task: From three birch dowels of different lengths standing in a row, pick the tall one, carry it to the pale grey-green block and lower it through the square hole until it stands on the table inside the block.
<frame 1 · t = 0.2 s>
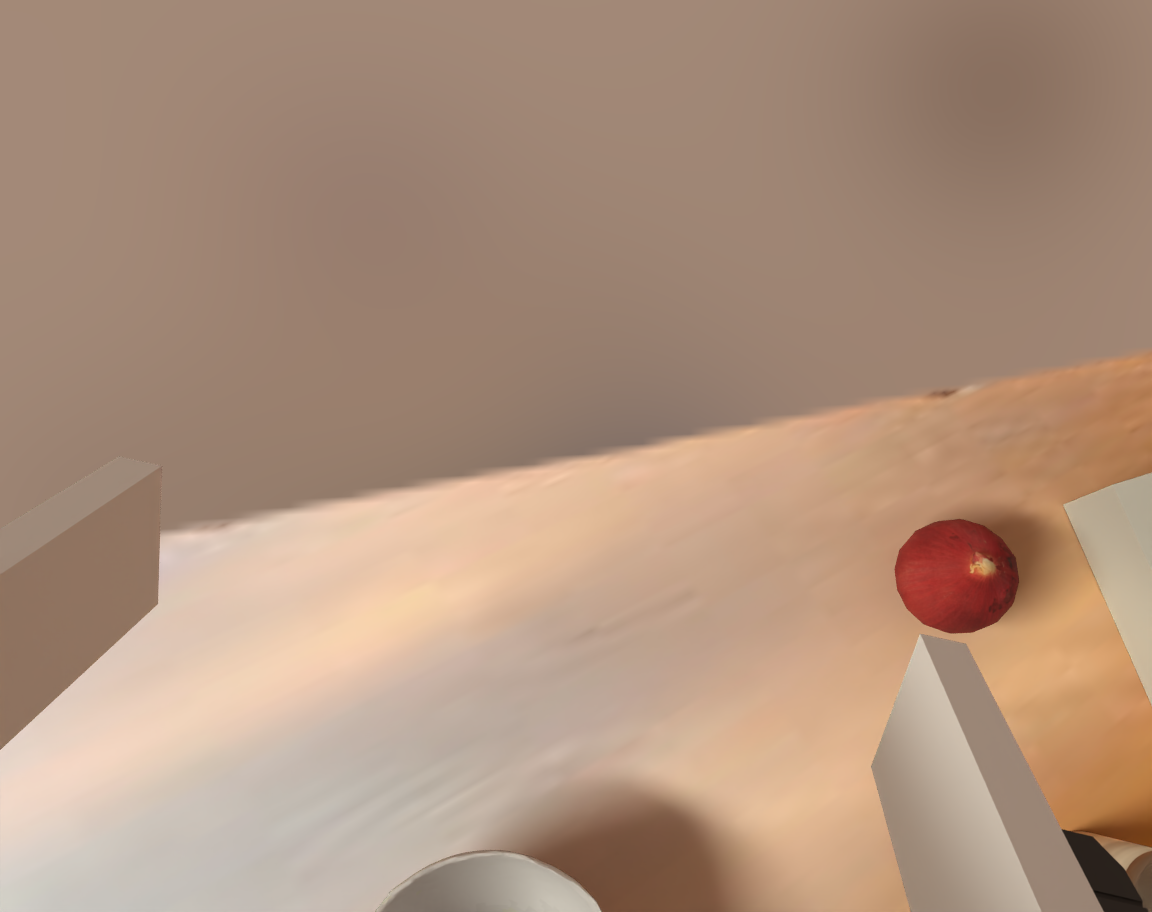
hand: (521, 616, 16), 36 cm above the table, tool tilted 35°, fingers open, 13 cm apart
onion: (927, 585, 52), on the table
medium dowel: (1083, 872, 49), on the table
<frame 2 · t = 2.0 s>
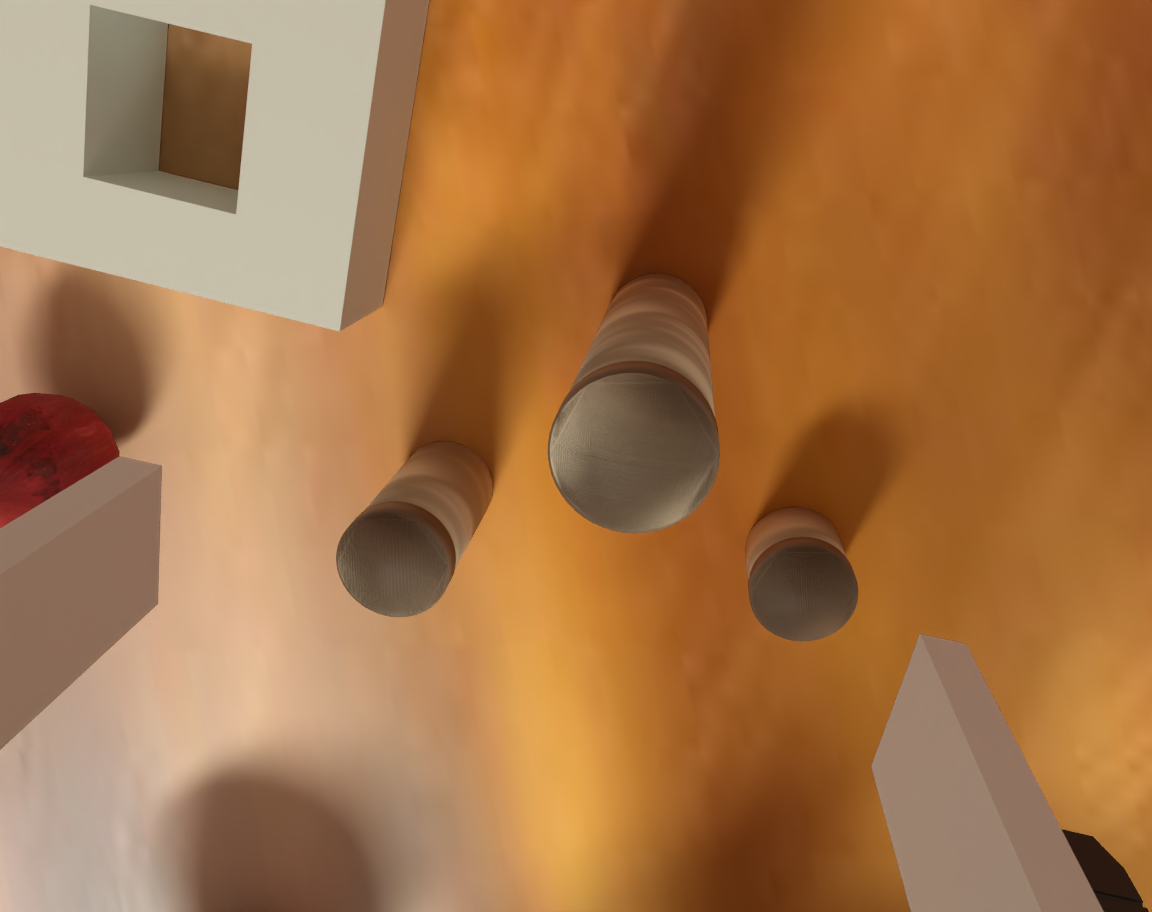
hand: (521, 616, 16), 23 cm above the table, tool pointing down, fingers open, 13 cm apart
hole block: (232, 114, 37), on the table
short dowel: (792, 550, 40), on the table
onion: (95, 436, 42), on the table
medium dowel: (447, 485, 41), on the table
long dowel: (656, 324, 38), on the table
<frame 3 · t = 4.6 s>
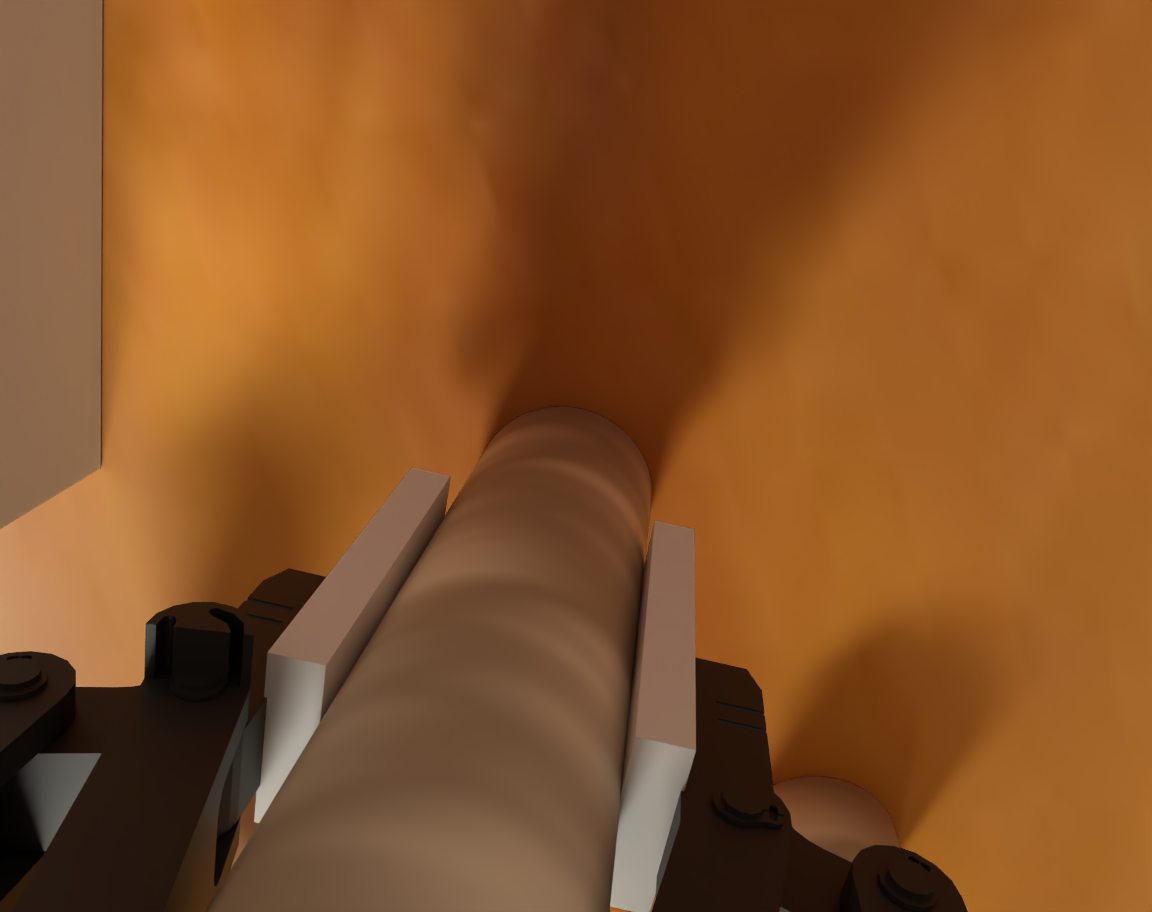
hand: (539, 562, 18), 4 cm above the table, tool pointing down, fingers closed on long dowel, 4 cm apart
short dowel: (814, 840, 24), on the table
medium dowel: (244, 741, 25), on the table
long dowel: (563, 490, 21), on the table, touching gripper
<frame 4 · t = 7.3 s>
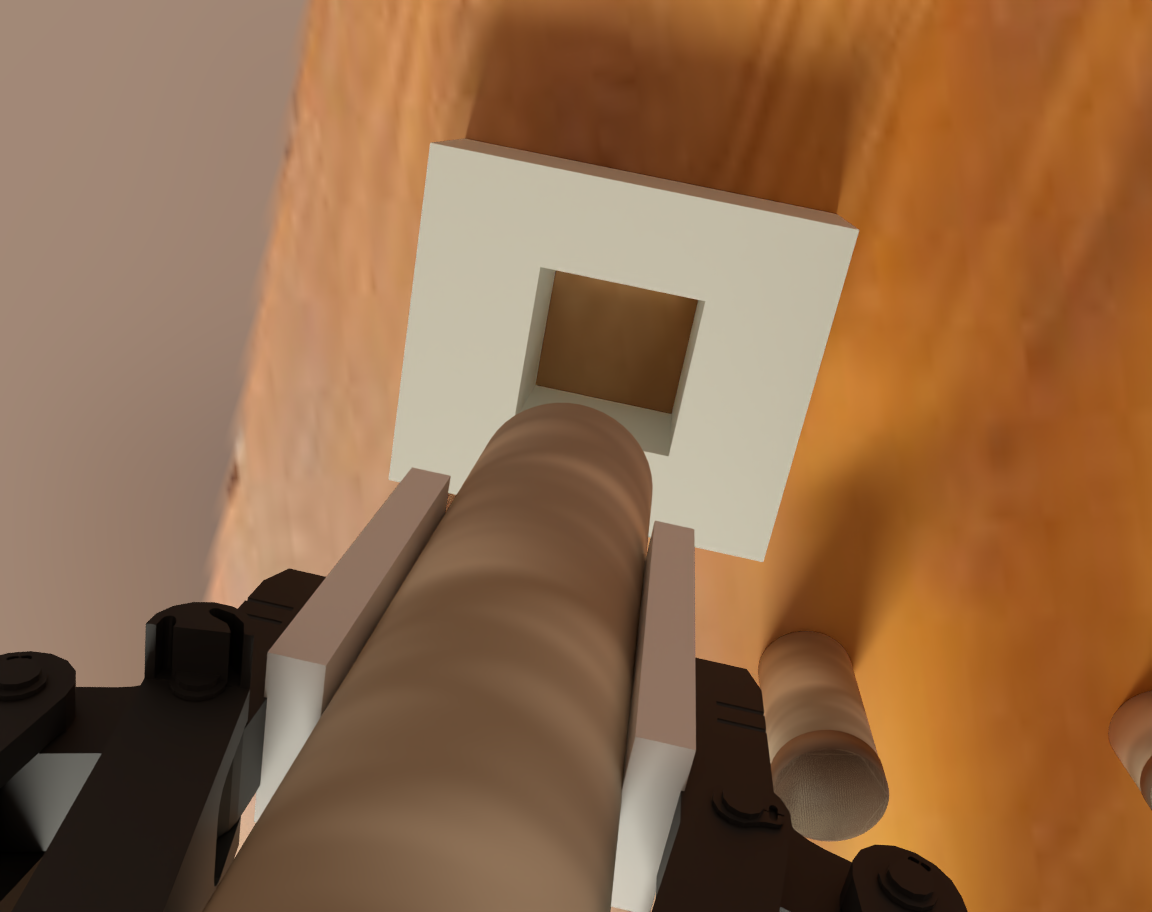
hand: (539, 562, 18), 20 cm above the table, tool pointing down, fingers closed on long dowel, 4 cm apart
hole block: (617, 332, 37), on the table
medium dowel: (804, 671, 41), on the table
long dowel: (564, 486, 22), point 17 cm above the table, touching gripper
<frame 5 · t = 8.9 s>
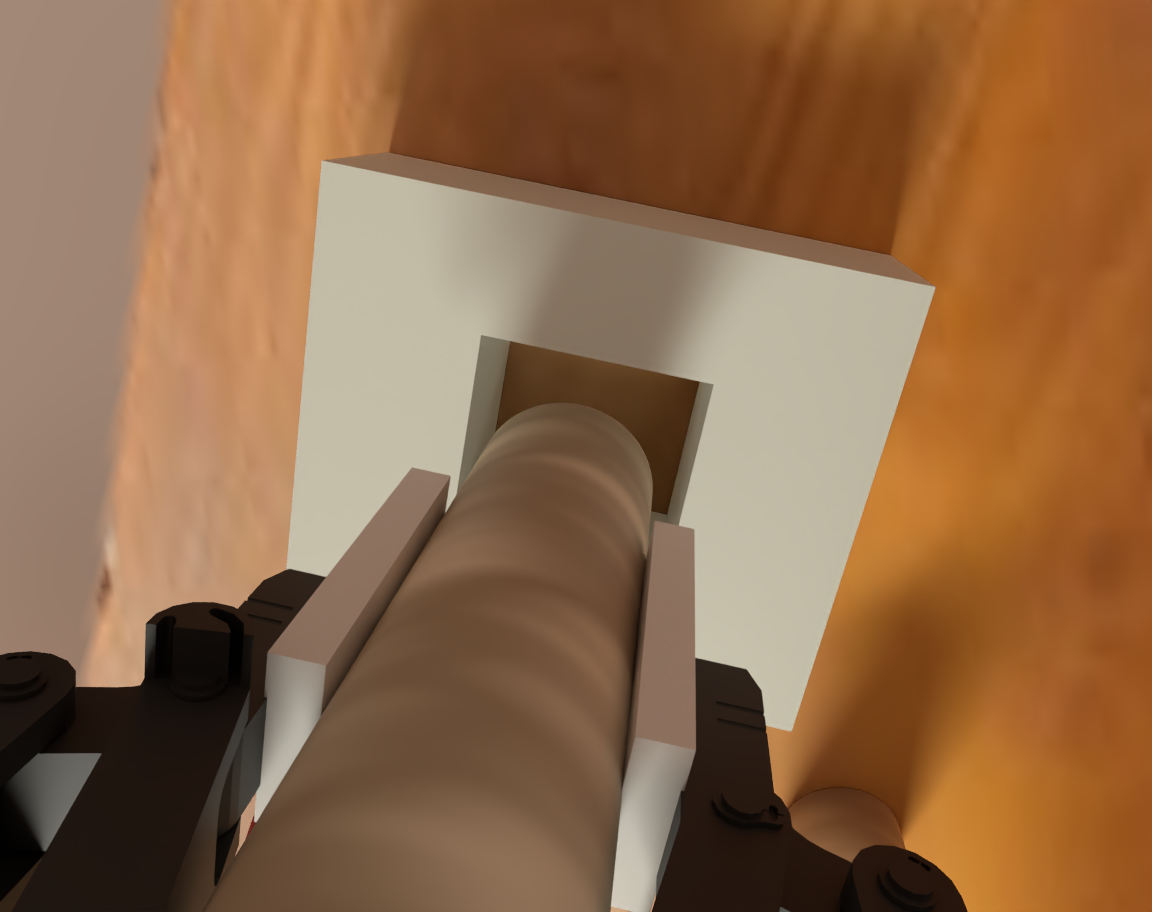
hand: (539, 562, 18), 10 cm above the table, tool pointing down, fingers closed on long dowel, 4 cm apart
hole block: (594, 409, 28), on the table
medium dowel: (838, 836, 32), on the table
long dowel: (564, 486, 22), point 7 cm above the table, touching gripper
when the fingers open (7 cm above the table, at t = 9.9 s): long dowel drops 3 cm, resting in hole block.
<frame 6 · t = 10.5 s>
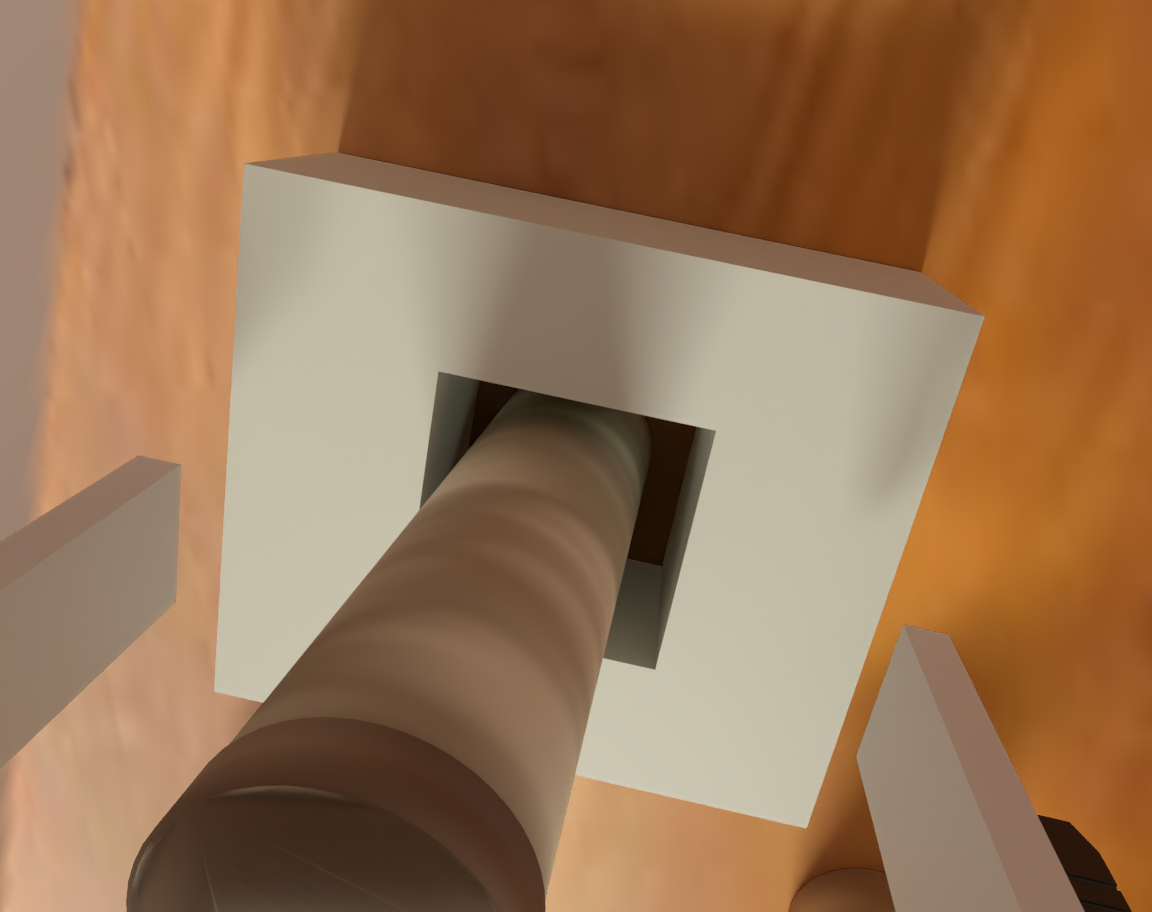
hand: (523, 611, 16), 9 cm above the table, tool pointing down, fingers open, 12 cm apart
hole block: (578, 447, 24), on the table
long dowel: (573, 444, 24), resting in hole block
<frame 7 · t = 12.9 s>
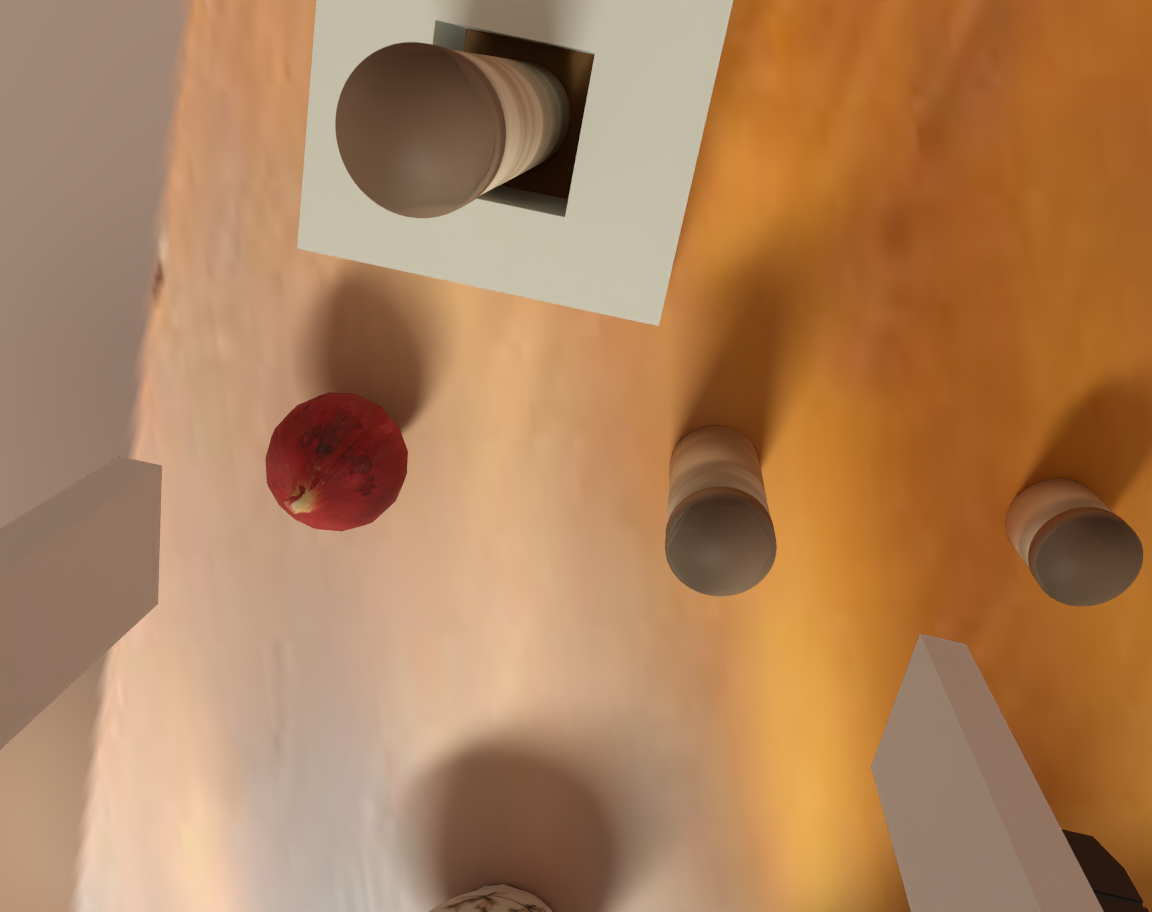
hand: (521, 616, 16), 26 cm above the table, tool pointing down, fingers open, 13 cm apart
hole block: (524, 117, 38), on the table
short dowel: (1052, 519, 42), on the table
onion: (366, 431, 44), on the table
medium dowel: (714, 467, 43), on the table
long dowel: (521, 115, 38), resting in hole block
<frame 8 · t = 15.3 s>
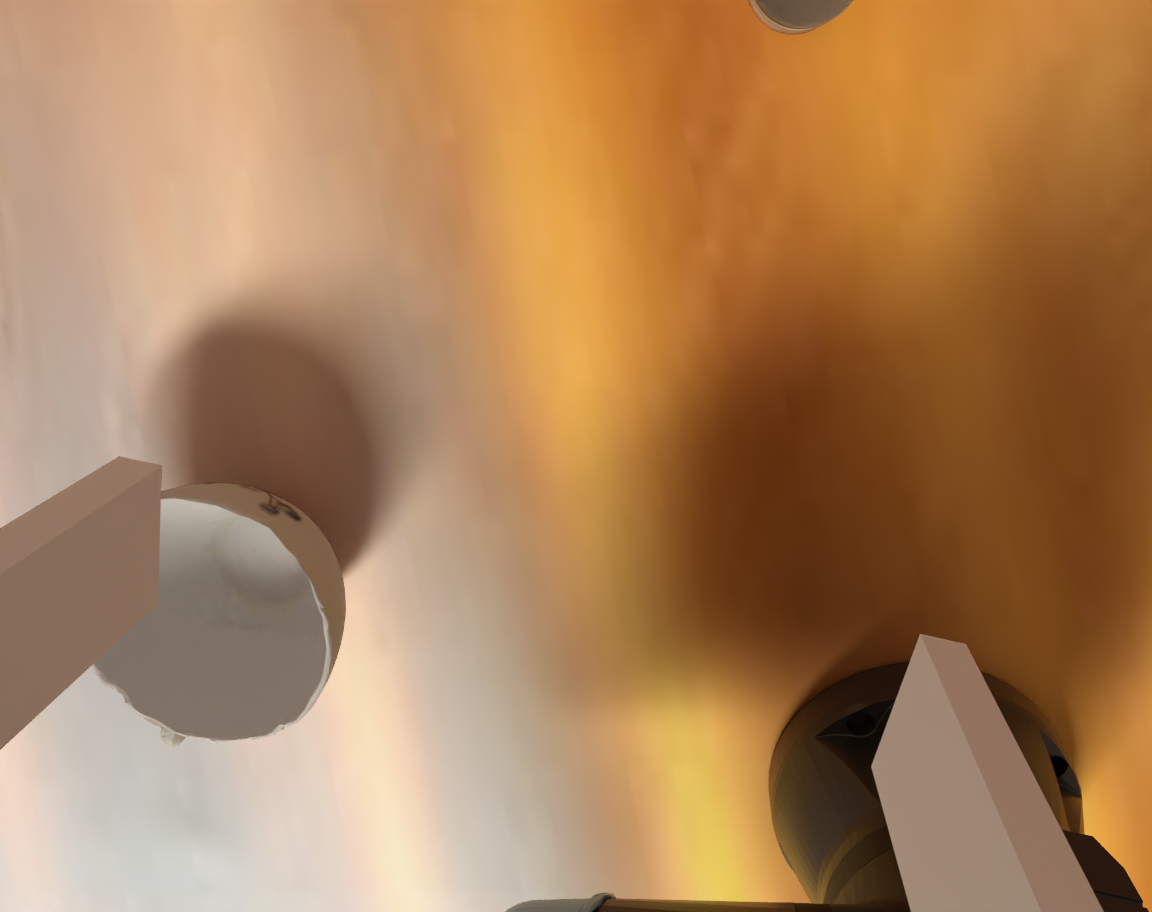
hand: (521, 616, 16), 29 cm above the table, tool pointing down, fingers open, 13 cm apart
teacup: (264, 568, 50), on the table
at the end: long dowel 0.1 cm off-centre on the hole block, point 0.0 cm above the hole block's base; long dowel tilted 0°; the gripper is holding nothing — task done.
